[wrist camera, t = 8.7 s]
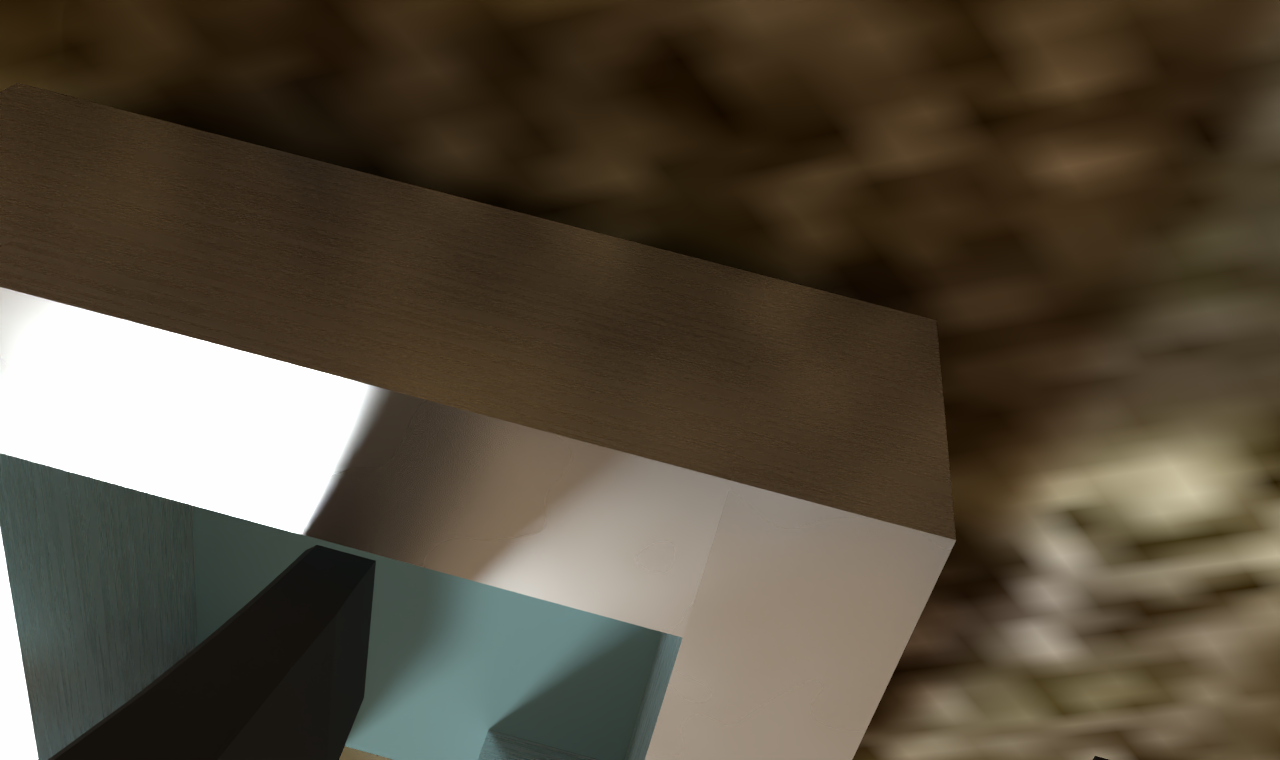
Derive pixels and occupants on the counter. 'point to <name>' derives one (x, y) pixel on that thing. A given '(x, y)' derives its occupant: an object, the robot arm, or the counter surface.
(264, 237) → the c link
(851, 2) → the counter surface
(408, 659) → the mat
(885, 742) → the counter surface
